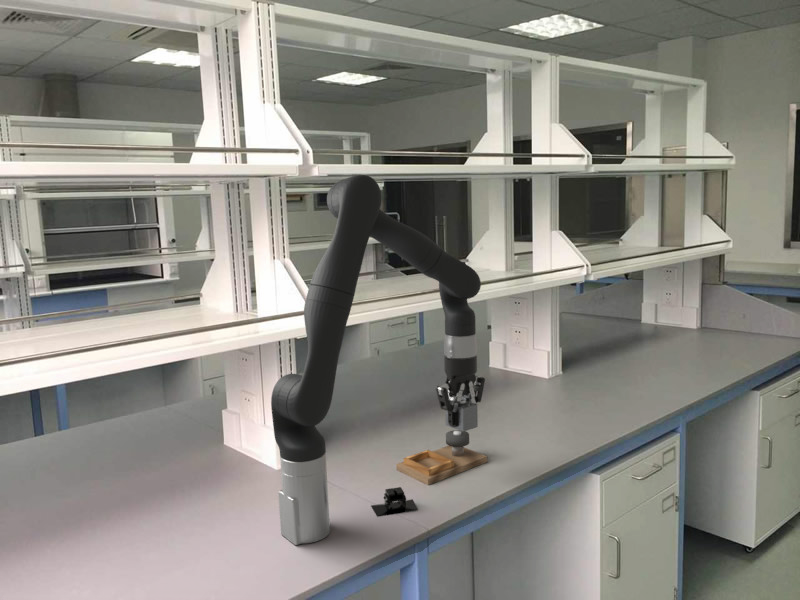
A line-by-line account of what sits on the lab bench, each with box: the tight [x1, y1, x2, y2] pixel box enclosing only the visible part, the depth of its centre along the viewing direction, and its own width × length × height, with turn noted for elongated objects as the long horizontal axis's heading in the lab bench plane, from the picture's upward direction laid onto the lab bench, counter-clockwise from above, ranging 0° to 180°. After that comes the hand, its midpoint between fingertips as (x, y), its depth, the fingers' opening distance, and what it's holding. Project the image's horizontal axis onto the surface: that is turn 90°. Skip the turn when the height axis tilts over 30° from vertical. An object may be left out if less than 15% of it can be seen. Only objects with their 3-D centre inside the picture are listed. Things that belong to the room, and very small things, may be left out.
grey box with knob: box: [444, 397, 479, 432], centre depth 155 cm, size 5×6×6 cm
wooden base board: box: [396, 445, 488, 486], centre depth 167 cm, size 20×12×4 cm, turn 129°
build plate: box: [370, 486, 419, 518], centre depth 146 cm, size 12×7×5 cm, turn 105°
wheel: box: [445, 429, 470, 447], centre depth 170 cm, size 6×6×3 cm
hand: (461, 423), depth 155 cm, fingers closed on grey box with knob, 4 cm apart
